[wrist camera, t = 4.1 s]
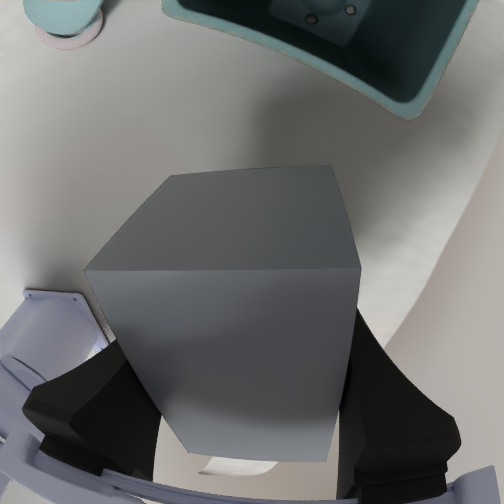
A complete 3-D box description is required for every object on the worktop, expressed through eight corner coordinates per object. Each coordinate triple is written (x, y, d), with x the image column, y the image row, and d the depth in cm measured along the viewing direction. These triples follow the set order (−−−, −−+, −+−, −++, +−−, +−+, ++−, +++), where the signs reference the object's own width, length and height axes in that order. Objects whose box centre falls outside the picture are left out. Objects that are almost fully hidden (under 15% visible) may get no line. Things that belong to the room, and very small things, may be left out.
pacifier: (99, 59, 16) (133, -23, 13) (34, 71, 11) (73, -40, 8) (30, 39, 15) (56, -33, 12) (-33, 51, 10) (-6, -39, 7)
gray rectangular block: (214, 352, 18) (188, 452, 12) (170, 175, 12) (83, 270, 7) (324, 354, 17) (326, 461, 11) (331, 165, 11) (361, 267, 6)
